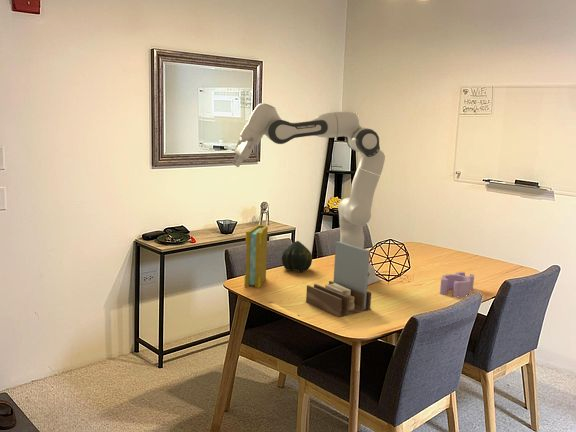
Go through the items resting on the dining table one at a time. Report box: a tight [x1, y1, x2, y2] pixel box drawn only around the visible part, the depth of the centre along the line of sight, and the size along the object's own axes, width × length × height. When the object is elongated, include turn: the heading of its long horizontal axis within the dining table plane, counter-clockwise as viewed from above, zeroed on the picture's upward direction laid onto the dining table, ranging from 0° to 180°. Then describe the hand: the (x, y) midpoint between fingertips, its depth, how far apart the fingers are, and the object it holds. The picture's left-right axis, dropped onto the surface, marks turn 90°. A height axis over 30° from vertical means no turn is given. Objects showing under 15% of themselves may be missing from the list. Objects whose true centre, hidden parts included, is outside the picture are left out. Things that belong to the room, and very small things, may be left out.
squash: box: [281, 240, 313, 273], centre depth 288 cm, size 14×15×15 cm
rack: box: [304, 280, 373, 319], centre depth 233 cm, size 18×21×8 cm
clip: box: [439, 271, 475, 298], centre depth 264 cm, size 20×12×7 cm, turn 139°
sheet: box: [333, 240, 371, 309], centre depth 235 cm, size 2×18×24 cm, turn 37°
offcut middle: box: [348, 296, 355, 304], centre depth 233 cm, size 5×12×2 cm, turn 40°
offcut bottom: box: [348, 303, 355, 311], centre depth 234 cm, size 5×14×2 cm, turn 37°
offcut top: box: [324, 283, 351, 297], centre depth 233 cm, size 5×10×2 cm, turn 34°
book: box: [244, 224, 269, 288], centre depth 264 cm, size 17×7×25 cm, turn 168°
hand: (235, 165), depth 253 cm, fingers open, 8 cm apart
